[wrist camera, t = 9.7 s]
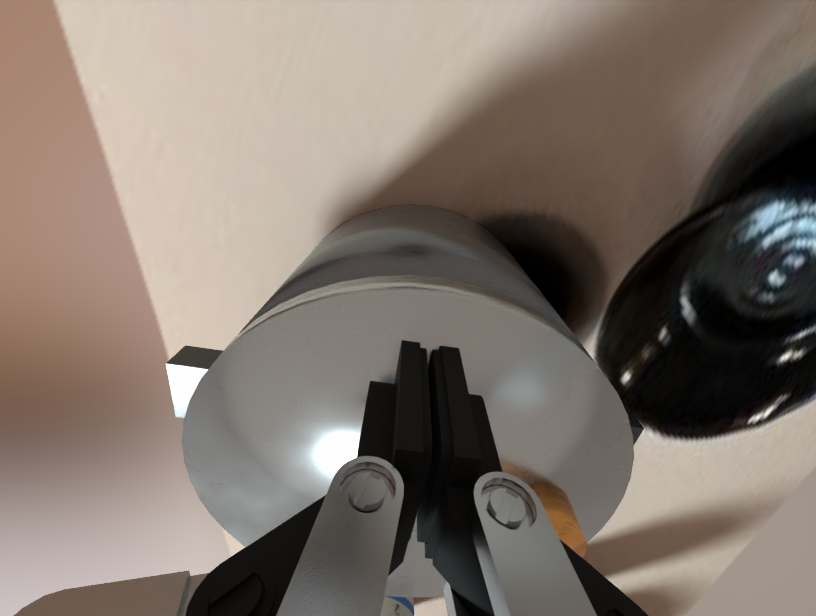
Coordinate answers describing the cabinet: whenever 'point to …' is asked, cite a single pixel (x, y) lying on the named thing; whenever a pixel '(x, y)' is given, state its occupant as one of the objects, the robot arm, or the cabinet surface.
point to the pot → (390, 272)
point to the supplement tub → (397, 606)
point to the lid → (377, 361)
